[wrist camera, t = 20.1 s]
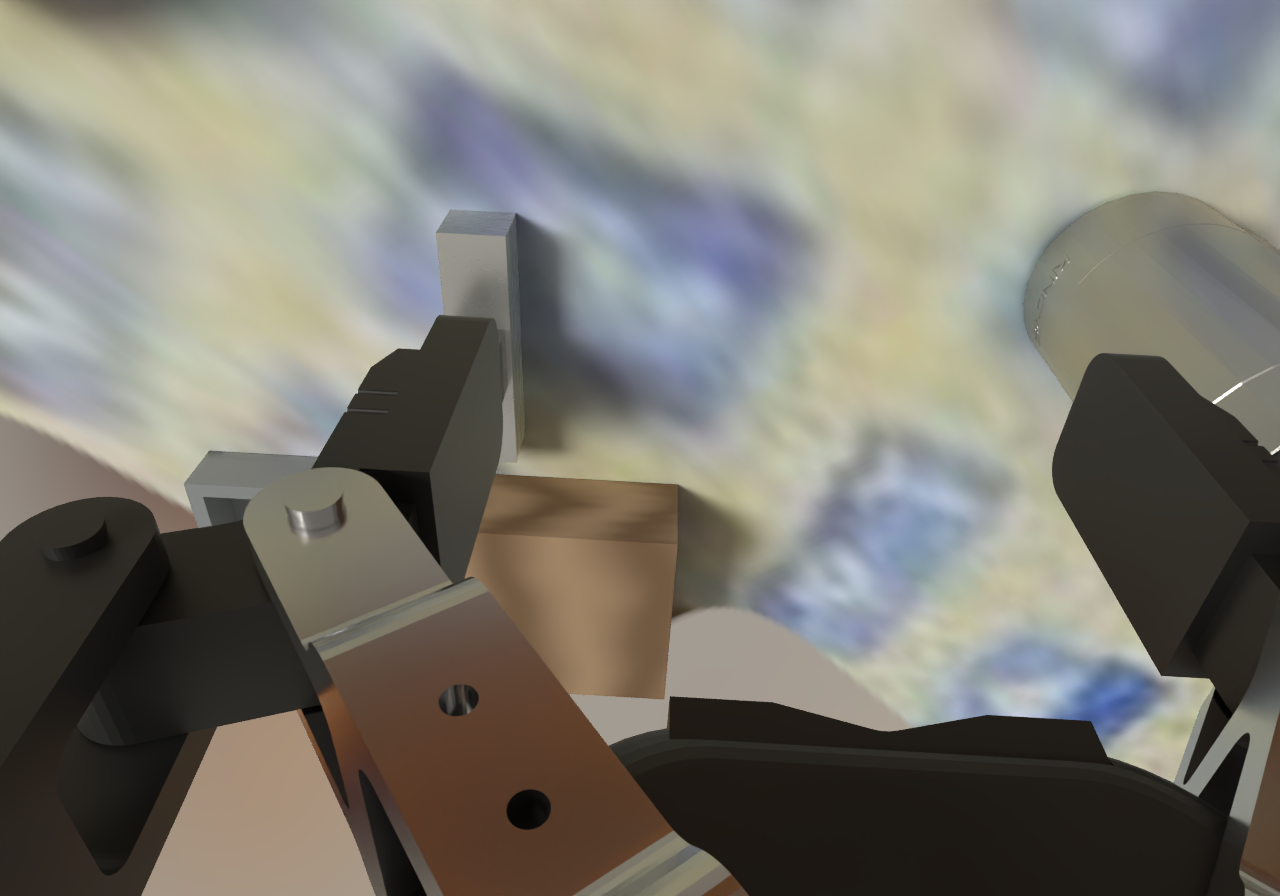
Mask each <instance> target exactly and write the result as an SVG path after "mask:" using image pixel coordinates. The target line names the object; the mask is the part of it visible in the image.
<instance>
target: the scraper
mask: <svg viewBox="0 0 1280 896" xmlns="http://www.w3.org/2000/svg"><path fill="white" fill-rule="evenodd" d="M436 239H437V249H438V259H439V269H440V279H441V289H442V300H443V310H444V315H449V316H467V317H486V318H494V319H495V321H496V324H497V329H498V340H499V357H500V374H501V391H502V408H503V438H502V447H501V454H500V459H499V461H502V462H517V460H518V456H519V453H520V449H521V445H522V441H523V438H524V434H525V414H524V390H523V367H522V343H521V320H520V296H519V273H518V250H517V226H516V213H506V212H487V211H468V210H450V211H449V213H448V214H447V216H446V217H445V219H444V221H443V222H442V224H441V225H440V227H439V229H438V230H437V232H436Z"/></svg>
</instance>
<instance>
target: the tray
mask: <svg viewBox="0 0 1280 896" xmlns="http://www.w3.org/2000/svg"><path fill="white" fill-rule="evenodd" d="M317 458H318V457H306V456H288V455H271V454H253V453H235V452H218V451H209V452H208V453H207V455H206V456H205V457H204V458H203V460H202V461H201V462H200V464H199V465H198V466H197V467H196V469H195V470H194V471H193V473H192V474H191V475H190V477H189V478H188V479H187V480H186V482H185V483H184V486H185V489H186V492H187V495H188V498H189V501H190V504H191V507H192V510H193V514H194V517H195V520H196V523H197V526H198V528H201V527H208V526H214V525H221V524H226V523H231V522H236V521H239V520H243V516H244V512H245V509H246V507H247V506H248V504H249V502H250V501H251V500H252V499H253V497H254V496H255V495H256V494H257V493H258V492H260V491H261V490H262V489H263V488H265V487H266V486H268V485H269V484H271V483H272V482H274V481H276V480H278V479H280V478H283V477H285V476H288V475H290V474H293V473H296V472H300V471H304V470H309V469H311V468H312V467H313V465H314V463H315V461H316V460H317Z"/></svg>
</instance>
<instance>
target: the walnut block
mask: <svg viewBox="0 0 1280 896" xmlns="http://www.w3.org/2000/svg"><path fill="white" fill-rule="evenodd" d="M677 548H678V485H673V484H655V483H637V482H620V481H602V480H584V479H567V478H549V477H531V476H514V475H496V474H495V477H494V480H493V483H492V487H491V490H490V494H489V497H488V500H487V504H486V507H485V511H484V514H483V517H482V521H481V524H480V528H479V531H478V534H477V538H476V541H475V545H474V548H473V551H472V555H471V558H470V561H469V565H468V568H467V572H466V575H465V578H468V577H475V578H476V579H478V580H479V581H480V582H482V583H483V584H484V585H485V587H486V588H487V589H488V590H489V591H490V593H491V594H492V595H493V597H494V598H495V599H496V600H497V602H498V603H499V604H500V606H501V607H502V608H503V610H504V611H505V612H506V613H507V615H508V616H509V617H510V619H511V620H512V621H513V623H514V624H515V625H516V626H517V628H518V629H519V630H520V632H521V633H522V634H523V636H524V637H525V638H526V639H527V641H528V642H529V643H530V645H531V646H532V647H533V649H534V650H535V651H536V652H537V654H538V655H539V656H540V658H541V659H542V660H543V662H544V663H545V664H546V665H547V667H548V668H549V669H550V671H551V672H552V673H553V675H554V676H555V677H556V678H557V680H558V681H559V682H560V684H561V685H562V686H563V688H564V689H565V690H566V691H567V693H568V694H583V695H600V696H616V697H635V698H652V699H664V695H665V685H666V672H667V662H668V649H669V639H670V627H671V616H672V605H673V593H674V582H675V571H676V559H677ZM465 578H464V579H465Z"/></svg>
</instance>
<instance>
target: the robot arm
mask: <svg viewBox="0 0 1280 896" xmlns="http://www.w3.org/2000/svg"><path fill="white" fill-rule="evenodd" d="M1023 305H1024V322H1025V326H1026V329H1027V332H1028V335H1029V338H1030V339H1031V341H1032V342H1033V344H1034V346H1035V347H1036V349H1037V350H1038V352H1039V353H1040V355H1041V356H1042V357H1043V359H1044V360H1045V362H1046V363H1047V365H1048V366H1049V368H1050V369H1051V370H1052V372H1053V373H1054V375H1055V376H1056V378H1057V379H1058V381H1059V382H1060V384H1061V386H1062V387H1063V388H1064V390H1065V391H1066V393H1067V394H1068V396H1069V397H1070V398H1071V400H1072V401H1073V404H1072V407H1071V410H1070V412H1069V415H1068V417H1067V420H1066V423H1065V425H1064V428H1063V430H1062V433H1061V436H1060V438H1059V441H1058V443H1057V446H1056V449H1055V452H1054V457H1053V464H1052V477H1053V484H1054V488H1055V491H1056V493H1057V495H1058V497H1059V499H1060V501H1061V502H1062V504H1063V506H1064V508H1065V509H1066V511H1067V513H1068V515H1069V516H1070V518H1071V520H1072V522H1073V523H1074V525H1075V527H1076V529H1077V530H1078V532H1079V534H1080V535H1081V537H1082V539H1083V541H1084V542H1085V544H1086V546H1087V548H1088V549H1089V551H1090V553H1091V555H1092V556H1093V558H1094V560H1095V562H1096V563H1097V565H1098V567H1099V568H1100V570H1101V572H1102V574H1103V575H1104V577H1105V579H1106V581H1107V582H1108V584H1109V586H1110V588H1111V589H1112V591H1113V593H1114V595H1115V596H1116V598H1117V600H1118V601H1119V603H1120V605H1121V607H1122V608H1123V610H1124V612H1125V614H1126V615H1127V617H1128V619H1129V621H1130V622H1131V624H1132V626H1133V628H1134V629H1135V631H1136V633H1137V634H1138V636H1139V638H1140V640H1141V641H1142V643H1143V645H1144V647H1145V648H1146V650H1147V652H1148V654H1149V655H1150V657H1151V659H1152V661H1153V662H1154V664H1155V666H1156V667H1157V669H1158V671H1159V673H1160V674H1161V676H1174V677H1191V678H1208V679H1210V680H1211V682H1212V683H1213V685H1214V687H1213V688H1212V690H1211V691H1210V693H1209V695H1208V696H1207V698H1206V699H1205V701H1204V703H1203V704H1202V706H1201V708H1200V710H1199V713H1198V716H1197V719H1196V722H1195V724H1194V727H1193V730H1192V733H1191V736H1190V739H1189V741H1188V744H1187V747H1186V750H1185V753H1184V755H1183V758H1182V761H1181V764H1180V767H1179V770H1178V772H1177V775H1176V778H1175V781H1174V783H1172V782H1170V781H1168V780H1166V779H1164V778H1161V777H1159V776H1157V775H1155V774H1153V773H1151V772H1148V771H1146V770H1144V769H1141V768H1138V767H1136V766H1133V765H1130V764H1128V763H1125V762H1122V761H1119V760H1116V759H1113V758H1109V757H1107V755H1106V753H1105V750H1104V748H1103V746H1102V744H1101V742H1100V740H1099V738H1098V735H1097V733H1096V731H1095V729H1094V727H1093V725H1092V723H1091V721H1080V720H1063V719H1046V718H1029V717H1012V716H995V715H985V716H979V717H973V718H967V719H962V720H956V721H950V722H945V723H939V724H933V725H927V726H922V727H916V728H910V729H905V730H899V731H891V732H887V731H877V730H873V729H869V728H866V727H862V726H858V725H854V724H850V723H847V722H843V721H840V720H836V719H832V718H829V717H824V716H821V715H818V714H814V713H810V712H806V711H803V710H799V709H795V708H791V707H788V706H784V705H780V704H777V703H773V702H756V701H738V700H722V699H704V698H688V697H671V696H670V701H669V712H668V722H667V729H662V730H656V731H651V732H646V733H643V734H640V735H636V736H633V737H630V738H626V739H624V740H621V741H619V742H617V743H614V744H612V745H610V746H608V745H607V743H606V742H605V741H604V740H603V738H602V737H601V736H600V734H599V733H598V732H597V730H596V729H595V728H594V727H593V725H592V724H591V723H590V722H589V720H588V719H587V718H586V716H585V715H584V714H583V712H582V711H581V710H580V708H579V707H578V706H577V705H576V703H575V702H574V701H573V699H572V698H571V697H570V695H569V694H568V693H567V691H566V690H565V689H564V688H563V686H562V685H561V684H560V682H559V681H558V680H557V678H556V677H555V676H554V675H553V673H552V672H551V671H550V669H549V668H548V667H547V665H546V664H545V663H544V662H543V660H542V659H541V658H540V656H539V655H538V654H537V652H536V651H535V650H534V649H533V647H532V646H531V645H530V643H529V642H528V641H527V639H526V638H525V637H524V636H523V634H522V633H521V632H520V630H519V629H518V628H517V626H516V625H515V624H514V623H513V621H512V620H511V619H510V617H509V616H508V615H507V613H506V612H505V611H504V610H503V608H502V607H501V606H500V604H499V603H498V602H497V600H496V599H495V598H494V597H493V595H492V594H491V593H490V591H489V590H488V589H487V588H486V587H485V585H484V584H483V583H482V582H480V581H479V580H478V579H476V578H475V577H468V578H465V575H466V572H467V568H468V565H469V561H470V558H471V555H472V551H473V548H474V545H475V541H476V538H477V534H478V531H479V528H480V524H481V521H482V517H483V514H484V511H485V507H486V504H487V500H488V497H489V494H490V490H491V487H492V483H493V480H494V477H495V473H496V470H497V466H498V463H499V459H500V454H501V447H502V438H503V408H502V391H501V374H500V357H499V340H498V329H497V324H496V321H495V319H494V318H486V317H467V316H449V315H439V316H438V317H437V318H436V320H435V322H434V324H433V326H432V328H431V330H430V332H429V334H428V336H427V338H426V339H425V341H424V343H423V345H422V347H421V349H420V350H415V349H397V350H395V351H394V352H393V353H391V354H390V355H388V356H387V357H385V358H384V359H382V360H381V361H379V362H378V363H376V364H375V365H374V366H372V367H371V368H370V370H369V372H368V373H367V375H366V377H365V379H364V380H363V382H362V384H361V385H360V387H359V389H358V394H355V395H354V397H353V399H352V401H351V402H350V404H349V406H348V407H347V408H348V410H347V412H344V414H343V416H342V417H341V419H340V421H339V423H338V424H337V426H336V428H335V429H334V431H333V433H332V434H331V436H330V438H329V439H328V441H327V443H326V445H325V446H324V448H323V450H322V451H321V453H320V455H319V456H318V458H317V460H316V461H315V463H314V465H313V467H312V468H311V469H309V470H304V471H300V472H296V473H293V474H290V475H288V476H285V477H283V478H280V479H278V480H276V481H274V482H272V483H271V484H269V485H268V486H266V487H265V488H263V489H262V490H261V491H260V492H258V493H257V494H256V495H255V496H254V497H253V499H252V500H251V501H250V502H249V504H248V506H247V507H246V509H245V512H244V516H243V520H239V521H236V522H231V523H226V524H221V525H214V526H208V527H201V528H195V529H188V530H182V531H175V532H169V533H162V534H160V532H159V529H158V526H157V524H156V521H155V518H154V516H153V513H152V512H151V511H150V510H149V509H148V508H147V507H146V506H144V505H143V504H141V503H139V502H136V501H133V500H130V499H125V498H118V497H96V498H89V499H82V500H77V501H73V502H69V503H66V504H62V505H59V506H56V507H53V508H51V509H48V510H46V511H43V512H41V513H39V514H37V515H35V516H33V517H31V518H29V519H28V520H26V521H25V522H23V523H21V524H20V525H18V526H17V527H16V528H14V529H13V530H12V531H11V532H9V533H8V534H7V535H6V536H5V537H4V538H3V539H2V540H1V541H0V896H141V895H142V892H143V890H144V888H145V886H146V883H147V881H148V879H149V877H150V875H151V872H152V870H153V868H154V866H155V863H156V861H157V859H158V857H159V854H160V852H161V850H162V848H163V846H164V843H165V841H166V839H167V837H168V835H169V832H170V830H171V828H172V826H173V824H174V821H175V819H176V817H177V815H178V812H179V810H180V808H181V806H182V803H183V801H184V799H185V797H186V795H187V792H188V790H189V788H190V786H191V784H192V781H193V779H194V777H195V775H196V772H197V770H198V768H199V766H200V763H201V761H202V759H203V757H204V755H205V752H206V750H207V748H208V746H209V744H210V741H211V739H212V737H213V735H214V732H215V730H216V728H217V727H218V726H223V725H227V724H232V723H237V722H242V721H246V720H251V719H256V718H260V717H265V716H270V715H274V714H279V713H284V712H288V711H293V710H297V712H298V715H299V717H300V719H301V721H302V723H303V726H304V728H305V730H306V732H307V735H308V737H309V739H310V741H311V743H312V746H313V748H314V749H315V752H316V754H317V756H318V759H319V761H320V763H321V765H322V767H323V770H324V772H325V774H326V776H327V778H328V781H329V783H330V785H331V787H332V789H333V792H334V794H335V796H336V798H337V800H338V802H339V805H340V807H341V809H342V811H343V814H344V816H345V818H346V820H347V822H348V824H349V827H350V829H351V831H352V834H353V836H354V838H355V841H356V843H357V846H358V848H359V851H360V854H361V856H362V860H363V862H364V865H365V868H366V871H367V874H368V877H369V880H370V882H371V885H372V887H373V890H374V893H375V895H376V896H1280V250H1279V249H1277V248H1276V247H1274V246H1273V245H1271V244H1270V243H1268V242H1267V241H1265V240H1264V239H1262V238H1261V237H1259V236H1258V235H1257V234H1255V233H1254V232H1252V231H1250V230H1243V229H1241V228H1240V227H1238V226H1237V225H1235V224H1234V223H1232V222H1231V221H1230V220H1228V219H1227V218H1225V217H1224V216H1222V215H1221V214H1219V213H1218V212H1216V211H1215V210H1213V209H1212V208H1210V207H1209V206H1207V205H1205V204H1204V203H1202V202H1201V201H1199V200H1197V199H1195V198H1192V197H1188V196H1185V195H1182V194H1178V193H1168V192H1148V193H1141V194H1133V195H1129V196H1126V197H1123V198H1120V199H1117V200H1113V201H1110V202H1107V203H1105V204H1103V205H1102V206H1100V207H1098V208H1096V209H1094V210H1092V211H1090V212H1088V213H1086V214H1084V215H1083V216H1082V217H1080V218H1079V219H1078V220H1076V221H1075V222H1074V223H1072V224H1071V225H1070V226H1068V227H1067V228H1066V229H1065V230H1064V231H1063V232H1062V233H1061V234H1060V235H1059V236H1058V237H1057V238H1056V239H1055V240H1054V241H1053V242H1052V243H1051V244H1050V245H1049V246H1048V248H1047V249H1046V250H1045V252H1044V253H1043V255H1042V256H1041V258H1040V259H1039V261H1038V262H1037V264H1036V265H1035V268H1034V270H1033V272H1032V274H1031V277H1030V279H1029V281H1028V284H1027V288H1026V293H1025V298H1024V303H1023ZM464 578H465V579H464Z"/></svg>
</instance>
